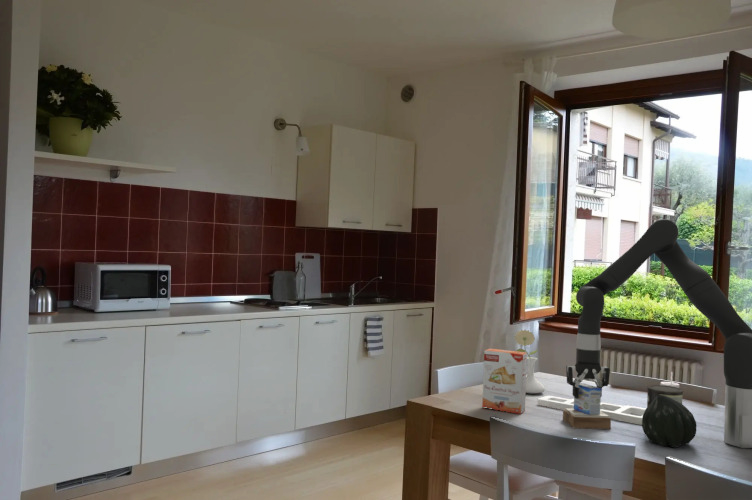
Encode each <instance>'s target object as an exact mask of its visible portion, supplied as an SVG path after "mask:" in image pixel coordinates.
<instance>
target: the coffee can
mask: <svg viewBox="0 0 752 500" xmlns="http://www.w3.org/2000/svg"><path fill="white" fill-rule="evenodd" d="M646 388H647V393H646V394H647V396H646V397H647V399H646V400H647V401H646V408H647V407H648V406H649V405H650V404H651V403H652V402H653V401H654V399H655V398H656V397H657V396H658V395H659V394H660V395H664V396H667V397H670V398H672V399H674V400H676V401H678V402H680V403H681V404H683V396H684V395H683V394H684V390H683V389H682V388H680V387H679V388H677V387H673V386H666V385H660V384H649V385H648V386H646Z"/></svg>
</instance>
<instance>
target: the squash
mask: <svg viewBox="0 0 752 500" xmlns="http://www.w3.org/2000/svg"><path fill="white" fill-rule="evenodd" d="M645 408H646V410H645V412H644V414H643V417H642V425H641V427H642V430H643V433H644V435H645V436H646V437H647V439H648V440H649V441H650V442H652V443H654V444H658V445H660V446H663V447H668V446H669V447H672V448H678V447H680V446H681V445H683V446H684V445H688V444H689V443H691V441H692V440H693V439H695V437H696V435H697V421H696V418H695V416H694V415H693V413H692V412H691V411H690V410H689V409H688V408H687V407H686V406H685V405H684V404H683V403H682V404H681V403H680V402H678V401H676V400H674V399H672V398H670V397H667V396H664V395H660V394H659V395H658V396H657V397H656V398H655V399H654V401H653V402H652V403H651V404H650V405H649V406H648V407H647V406H646V407H645Z"/></svg>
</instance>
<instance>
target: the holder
mask: <svg viewBox="0 0 752 500" xmlns="http://www.w3.org/2000/svg"><path fill="white" fill-rule="evenodd" d="M537 404H538V405H537V406H541V405H542V407H546V406H547V408H551V407H552V409H556V408H557V410H562V411H563V410H565V408H572V409H574V398H564V397H559V396H554V395H553V396H552V395H545V396H541V397H539V398H537ZM646 408H647V407H640V406H634V405H627V404H625V405H620V404H614V403H609V402H603V401H602V402H601V403H600V411H601V412H603V413H605V414H606V415H608V416H609V417H610V418H611V420H613V421H614V420H615V421H621V422H625V423H631V424H635V425H636V424H637V425H641V426H642V417H643V414H644V412H645V410H646Z"/></svg>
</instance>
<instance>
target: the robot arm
mask: <svg viewBox="0 0 752 500" xmlns="http://www.w3.org/2000/svg"><path fill="white" fill-rule="evenodd" d="M678 237H679V228H678V225H677V224H676V223H675V222H674V221H673V220H670V219H668V218H667V219H666V218H661V219H657V220H655V221H653V222H652V223H651V224H650V225H649V227H648V228H647V229H646V231H645V232H644V233H643V235H642V236H641V237H640V238H639V239H638V240H637V241H636V242H635V243H634V244H633V245H632V246H631V247H630V248H629V249H627V251H625V252H624V253H623V254H622V255H621V256H620V257H619V258H617V259H616V260H615V261H613V262H612V263H611V264H610V265H608V266H607V268H605V269H604V270H603V271H602V272H601V273H600V274H598V275H597V276H596V277H594V278H593V279H591V280H589V281H588V282H586V283H585V284H583V285H582V286H580V287H579V288H578V290H577V292H576V295H575V300H576V302H577V304H578V305H579V306H581V307H582V311H581V315H579V317H578V321H577V335H576V336H577V337H576V342H575V343H576V344H575V346H576V347H575V348H576V349H575V350H576V351H575V352H576V353H575V365H572V366H571V365H566V366H565V371H566V383H567V384H568V385H569V386H571V387H572V393H571V394H572V397H573V399H574V398H576V399H578V398H579V387H578V386H579V384H580V383H583V380H588V379H589V380H593V382H594V383H595V385H596V386H595V387H598V388H601V397H603V394H602V393H603V388H604V387H608V386H609V381H610V380H609V379H610V373H611V372H610V371H611V369H610V368H609V367H608V366H601V353H602V351H601V349H602V348H601V345H602V341H601V340H602V339H601V319H602V317H603V312H604V307H605V295H607V294H608V293H610V292H611V293H612V292H614V291H616V290H618V288H620V287H621V286H622V285H623V284H624V283H625V282H626V281H628V280H629V279H630V278H631V277H632V276H633V275H634V274H635V273H636V272H637V271H638V270H639V269H640V268H641V266H642V265H644V263H645V262H646V261H647V260H648V259H649V258H650V257H651V256H653V255H655V256H656V257H657V259H659V260H660V261H661V263H662V264H663V265H664V266H665V267H666V268H667V269H668V271H669V273H671V276H672V277H673V279H674V280H675V282H676V283H677V284H678V285H679V287H680V289H681V290H682V292H683V293H684V295H685V296H686V297H687V299H688V300H689V302H691V304H692V305H693V306H694V308H696V309H697V310H698V311H699V312H700V313H701V314H702V315H703V316H705V318H707V319H708V320H709V321H710V322H711V323H713V324H714V325H715V327H716V328H717V329H718V330H719V331H720V333H721V334H722V336H723V337H724V338H725V342H724V346H723V375H724V379H725V391H724V392H725V393H724V421H723V422H724V424H723V425H724V426H723V428H724V433H723V442H724V443H726V444H728V445H731V446H735V447H739V448H741V449H752V328H751V327H750V326H749V325H748V323H746V322H745V321H744V320H743V318H742V317H741V316H740V315H739V313H738V312H737V311H736V309H735V308H734V306H733V305H732V304H731V302H730V300H729V299H728V298H727V296H726V295H725V293H724V292H723V291H722V289H721V288H720V286H719V285H718V284H717V282H716V281H715V280H714V278H713V277H712V276H711V275H710V274H709V273H708V272H707V271H706V270H705V269H704V268H702V267H701V266H700V265H698V264H697V263H695V262H694V261H693V260H692V259H690V258H689V257H688V256H687V254H686V253H685V251H684V250H683V249H682V248H681V246H680V244H679V243H678V241H677V240H678ZM575 371H576V375H575V377H574V376H573V374H574V373H575ZM600 372H601V374H602V375H601V379H600V377H599V373H600ZM573 377H574V378H573Z"/></svg>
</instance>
